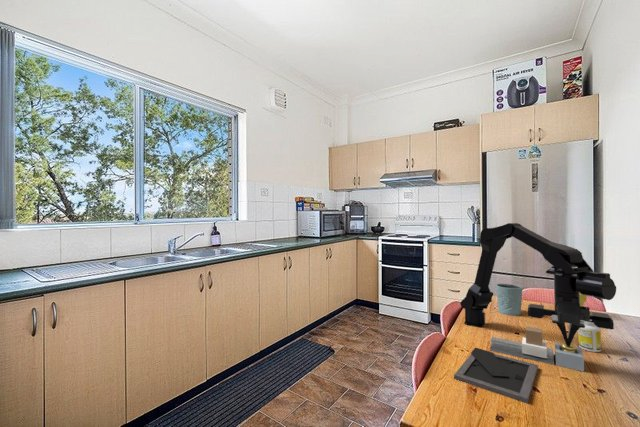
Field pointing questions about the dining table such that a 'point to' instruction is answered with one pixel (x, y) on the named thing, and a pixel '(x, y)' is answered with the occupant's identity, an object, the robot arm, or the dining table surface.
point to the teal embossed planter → (509, 299)
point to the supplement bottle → (590, 337)
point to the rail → (550, 361)
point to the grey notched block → (569, 358)
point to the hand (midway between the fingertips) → (568, 345)
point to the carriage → (534, 343)
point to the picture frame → (498, 374)
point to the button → (568, 347)
